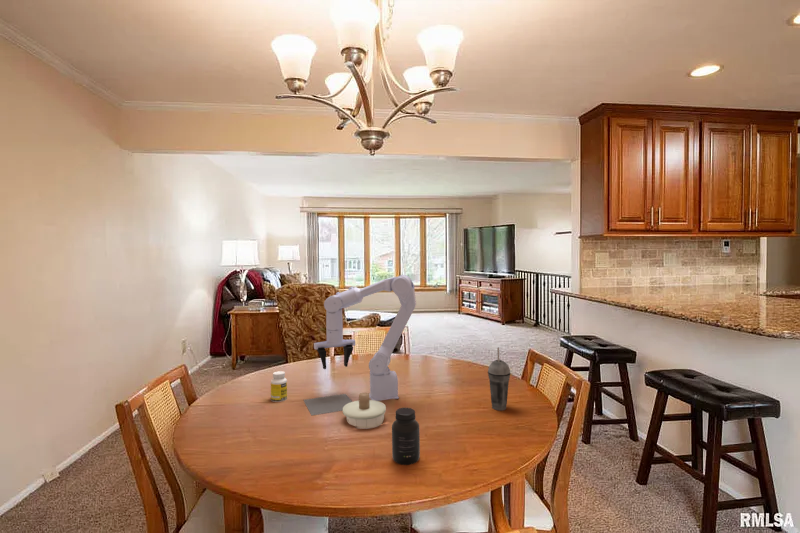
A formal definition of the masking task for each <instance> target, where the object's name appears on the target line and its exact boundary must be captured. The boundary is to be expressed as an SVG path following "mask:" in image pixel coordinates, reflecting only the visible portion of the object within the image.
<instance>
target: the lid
mask: <svg viewBox="0 0 800 533" xmlns="http://www.w3.org/2000/svg"><path fill="white" fill-rule="evenodd" d="M369 394H370V392H361V393H359V394H358V400H354V401H353V400H352V402H350V403H348V404H346V405H345V406H344V407H343V411H342V414H343V416H344V417H346V418H347V417H349V418H352V419H372V418H376V417H379V416H381V415H383V414H384V415H385V413H386V411H387V407H386V406H387V405H386V404H384V403H383V402H382V401H376V400H371V399H370V398H369Z"/></svg>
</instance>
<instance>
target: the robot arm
mask: <svg viewBox="0 0 800 533" xmlns="http://www.w3.org/2000/svg"><path fill="white" fill-rule="evenodd" d="M382 291H386V292H390V293H391V292H393V293H394V294H395V296H396V297H397V298H398V300H399V303H400V308H399V310H398V311H397V314H396V315H395V318H394V319H393V322H392V323H391V325H390V327H389V329H388V332H387V333H386V335H385V337H384V340H383V341H382V343H381V346H380V347H379V348H378V351H377V352H375V353H374V355H373V356H372V358H370V360H369V362H368V369H369V400H375V401H379V402H382V401H385V400H386V401H387V400H397V399H398V400H399V399H400V398H399V380H398V375H397V374H398V373H396V371H395V370H391V369H390V368H389V365H390V363H391V356H392V353H393V352H394V349H395V347H396V345H397V343H398V341H399V340H400V337H401V336H402V333H403V331H404V330H405V328H406V326H407V323H408V322H409V320H410V318H411V317H412V314H413V312H414V310H415V308H416V306H417V300H416V291H415V284H414V282H413V280H412V278H411V277H410V276H409V275H406V274H399V275H398V276H392V277H389V278H384V279H382V280H379V281H377V282H375V283H374V282H373V283H372V284H369V285H367V286H365V287H363V288H359V287H357V286H354V287H353V286H350V287H348V289H347V290H343V291H341V292H339V291H338V292H336V293H335V294H333V295H330V296H329V297H327V298H326V299H325V300H324V303H323V307H324V310H326V312H325V314H326V316H325V318H326V320H325V322H326V325H325V327H326V328H325V329H326V340H325V341H320V342H313V349H314V350H316V351H317V353H318V355H319V358H320V360H321V363H322V368H323V369H322V370H327V351H326V349H328V348H329V349H330V348H339V347H342V348H343V366H344V367H345V368H347V367H348V365H349V360H350V357H351V354H352V352H353V350H354V346H356V340H355V339H354V338H352V339H344V334H343V332H344V328H343V327H344V322H343V321H344V320H343V309H347V308H350V307H351V306H355V305H357V304H360V303H362V301H363V299H364V298H365V297H368V296H371V295H374V294H377V293H380V292H382Z"/></svg>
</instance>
